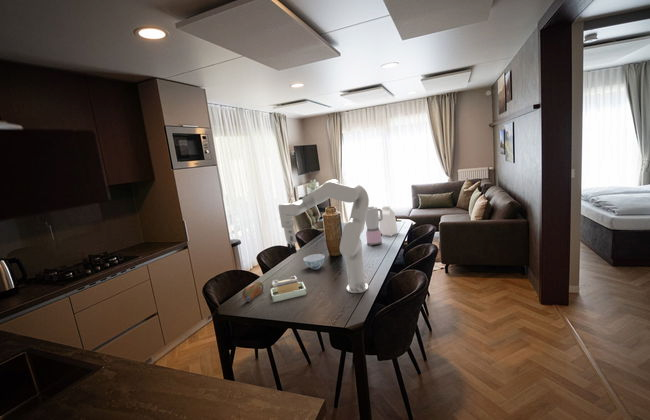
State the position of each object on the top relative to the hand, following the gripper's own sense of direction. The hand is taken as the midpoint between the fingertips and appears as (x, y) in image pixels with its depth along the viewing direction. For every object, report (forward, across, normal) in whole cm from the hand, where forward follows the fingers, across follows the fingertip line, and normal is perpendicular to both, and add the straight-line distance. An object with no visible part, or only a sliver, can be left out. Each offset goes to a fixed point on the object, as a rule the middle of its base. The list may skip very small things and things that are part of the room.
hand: (292, 251), depth 183 cm
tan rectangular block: (+23, -6, +7) cm, 24 cm away
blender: (+24, +51, -78) cm, 96 cm away
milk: (+24, +71, -101) cm, 126 cm away
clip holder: (+23, +9, +7) cm, 26 cm away
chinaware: (+24, +27, -18) cm, 40 cm away
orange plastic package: (+23, +1, +27) cm, 35 cm away
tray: (+23, -6, +7) cm, 25 cm away
